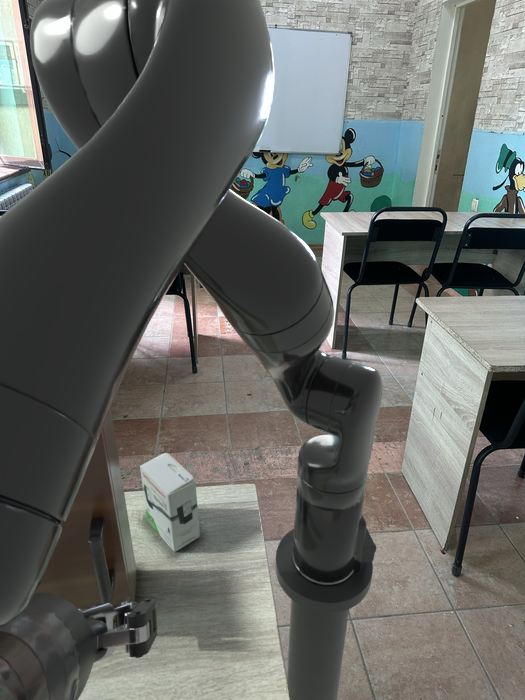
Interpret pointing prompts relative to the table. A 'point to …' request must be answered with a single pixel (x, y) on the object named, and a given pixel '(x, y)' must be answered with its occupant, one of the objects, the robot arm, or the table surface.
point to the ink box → (170, 501)
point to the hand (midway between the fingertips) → (73, 620)
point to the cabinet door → (90, 543)
